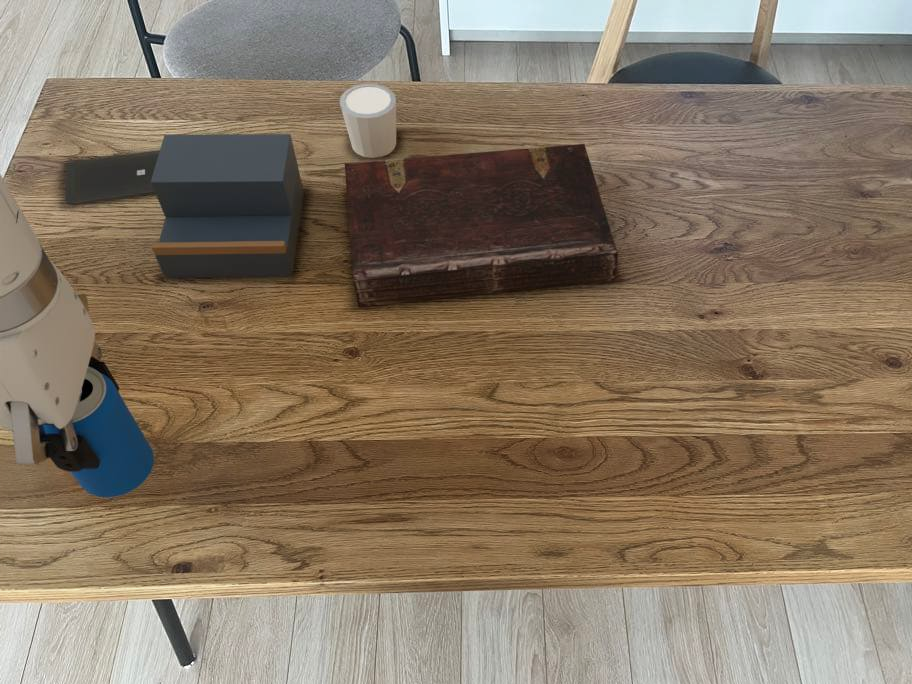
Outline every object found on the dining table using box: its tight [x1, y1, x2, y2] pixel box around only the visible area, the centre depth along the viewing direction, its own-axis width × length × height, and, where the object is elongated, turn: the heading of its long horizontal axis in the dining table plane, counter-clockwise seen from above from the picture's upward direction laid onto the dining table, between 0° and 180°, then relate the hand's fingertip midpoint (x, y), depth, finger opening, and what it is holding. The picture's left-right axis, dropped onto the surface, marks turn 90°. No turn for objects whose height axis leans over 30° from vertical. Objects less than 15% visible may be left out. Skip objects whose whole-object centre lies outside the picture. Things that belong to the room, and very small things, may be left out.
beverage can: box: [43, 366, 155, 499], centre depth 73 cm, size 6×6×12 cm
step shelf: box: [151, 133, 305, 279], centre depth 98 cm, size 14×14×9 cm
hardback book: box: [344, 143, 619, 308], centre depth 101 cm, size 29×19×5 cm, turn 100°
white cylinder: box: [339, 83, 397, 159], centre depth 109 cm, size 7×7×7 cm
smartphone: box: [64, 150, 160, 206], centre depth 106 cm, size 8×15×1 cm, turn 105°
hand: (90, 427), depth 72 cm, fingers closed on beverage can, 6 cm apart
